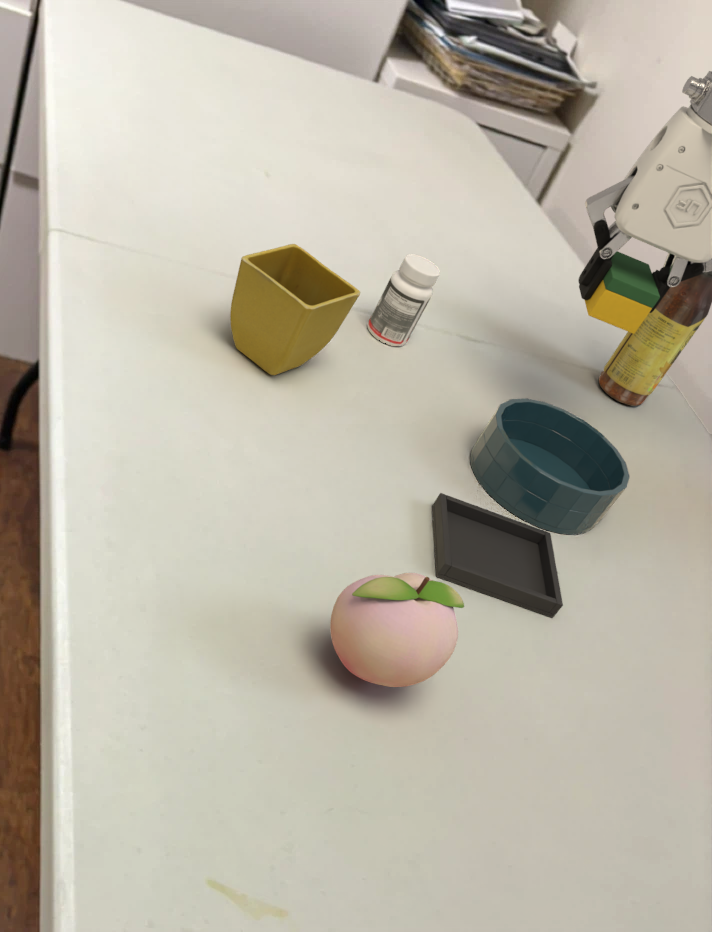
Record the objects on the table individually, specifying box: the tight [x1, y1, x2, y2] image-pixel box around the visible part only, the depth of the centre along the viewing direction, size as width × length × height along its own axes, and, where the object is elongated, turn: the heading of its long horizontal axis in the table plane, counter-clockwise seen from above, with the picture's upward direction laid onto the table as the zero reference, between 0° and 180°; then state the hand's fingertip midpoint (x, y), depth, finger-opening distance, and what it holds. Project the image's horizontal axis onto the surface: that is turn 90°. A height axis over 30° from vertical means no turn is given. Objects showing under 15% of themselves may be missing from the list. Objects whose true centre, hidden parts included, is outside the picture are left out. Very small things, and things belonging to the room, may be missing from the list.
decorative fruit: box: [329, 572, 465, 688], centre depth 78 cm, size 9×8×10 cm
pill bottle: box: [367, 253, 441, 347], centre depth 116 cm, size 5×5×8 cm
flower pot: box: [229, 243, 361, 376], centre depth 104 cm, size 9×9×9 cm
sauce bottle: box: [598, 271, 712, 407], centre depth 122 cm, size 7×6×20 cm
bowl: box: [469, 397, 630, 536], centre depth 107 cm, size 14×14×5 cm
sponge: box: [584, 250, 660, 334], centre depth 105 cm, size 5×7×4 cm
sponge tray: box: [431, 492, 564, 619], centre depth 97 cm, size 11×10×2 cm
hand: (610, 302), depth 106 cm, fingers closed on sponge, 5 cm apart
